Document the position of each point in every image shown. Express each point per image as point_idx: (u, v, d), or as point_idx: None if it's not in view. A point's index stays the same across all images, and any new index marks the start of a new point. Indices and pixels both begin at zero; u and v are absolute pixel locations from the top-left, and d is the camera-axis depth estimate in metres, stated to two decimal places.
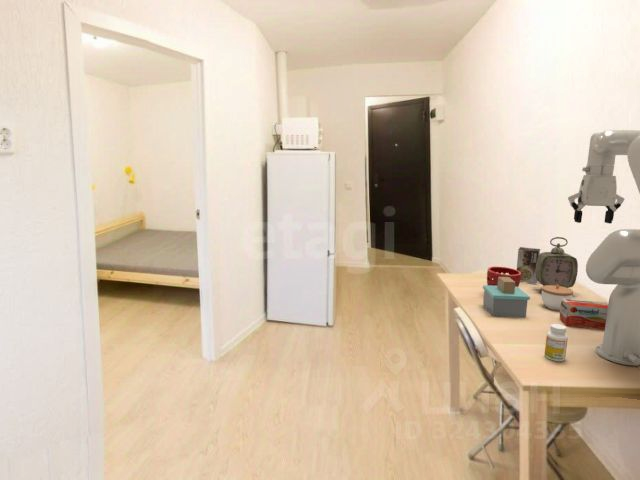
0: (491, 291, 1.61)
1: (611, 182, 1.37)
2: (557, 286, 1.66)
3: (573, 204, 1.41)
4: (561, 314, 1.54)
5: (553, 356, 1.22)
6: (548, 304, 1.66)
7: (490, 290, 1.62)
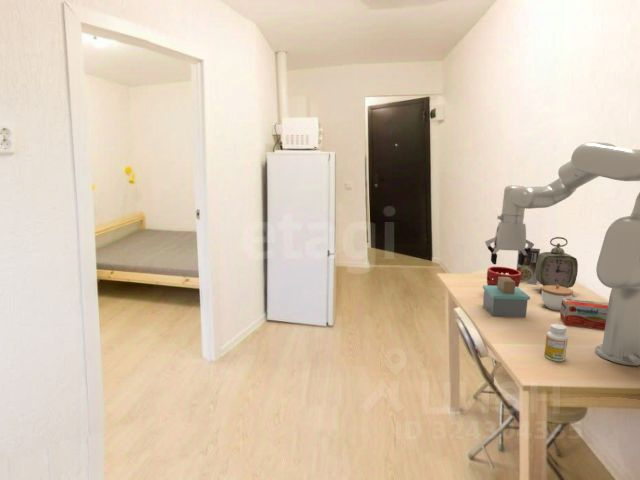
0: (491, 291, 1.61)
1: (521, 230, 1.55)
2: (557, 286, 1.66)
3: (489, 248, 1.59)
4: (561, 313, 1.55)
5: (553, 356, 1.22)
6: (548, 304, 1.66)
7: (490, 290, 1.62)
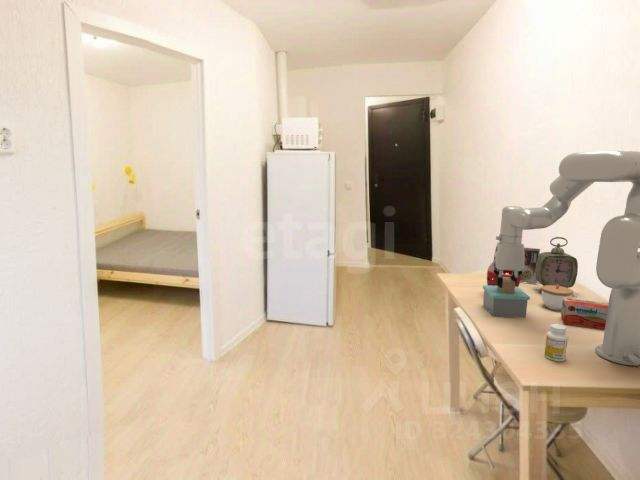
0: (491, 291, 1.61)
1: (519, 250, 1.56)
2: (557, 286, 1.66)
3: (495, 271, 1.60)
4: (562, 313, 1.55)
5: (553, 356, 1.22)
6: (548, 304, 1.66)
7: (490, 290, 1.62)
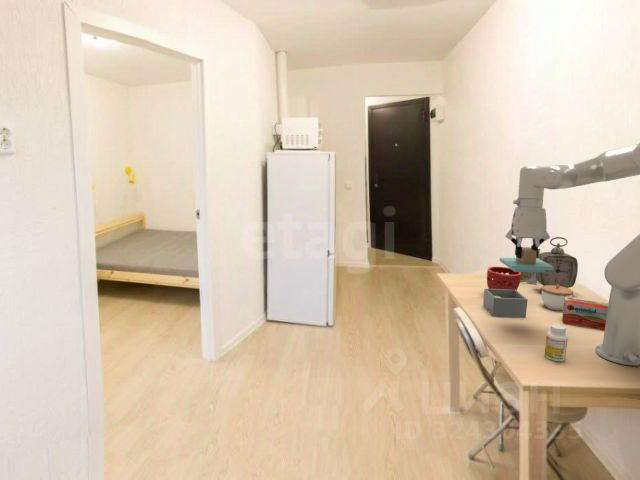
0: (509, 262, 1.43)
1: (540, 215, 1.39)
2: (557, 286, 1.66)
3: (513, 240, 1.43)
4: None
5: (553, 356, 1.22)
6: (548, 304, 1.66)
7: (508, 261, 1.45)
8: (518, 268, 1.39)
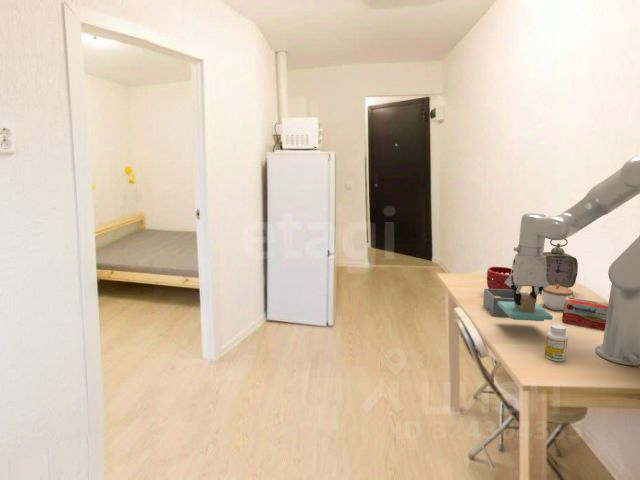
0: (508, 309, 1.42)
1: (541, 263, 1.37)
2: (557, 286, 1.66)
3: (512, 287, 1.41)
4: None
5: (553, 356, 1.22)
6: (548, 304, 1.66)
7: (507, 308, 1.43)
8: (517, 317, 1.37)
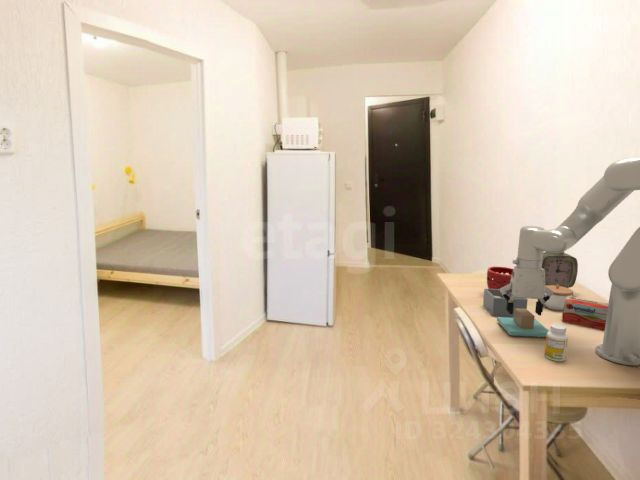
0: (507, 325, 1.43)
1: (539, 276, 1.38)
2: (557, 286, 1.66)
3: (504, 296, 1.42)
4: None
5: (553, 356, 1.22)
6: (548, 304, 1.66)
7: (506, 324, 1.44)
8: (516, 334, 1.38)
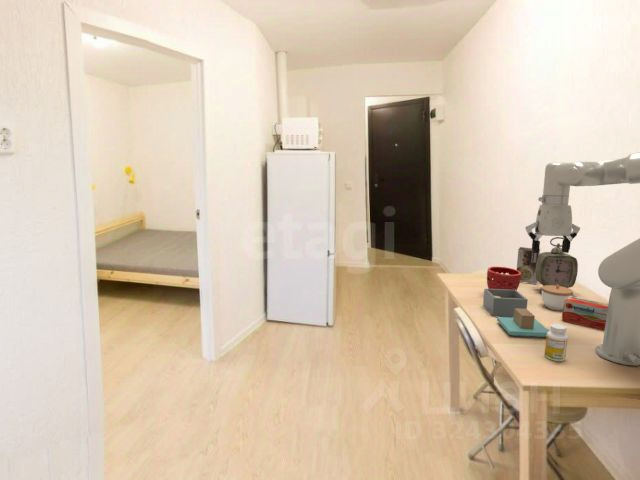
0: (507, 325, 1.43)
1: (566, 212, 1.37)
2: (557, 286, 1.66)
3: (530, 234, 1.40)
4: None
5: (553, 356, 1.22)
6: (548, 304, 1.66)
7: (506, 324, 1.44)
8: (516, 334, 1.38)
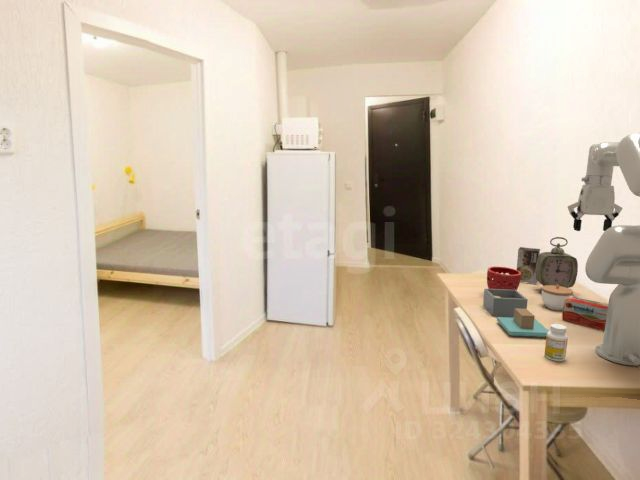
0: (507, 325, 1.43)
1: (609, 192, 1.42)
2: (557, 286, 1.66)
3: (572, 213, 1.46)
4: None
5: (553, 356, 1.22)
6: (548, 304, 1.66)
7: (506, 324, 1.44)
8: (516, 334, 1.38)
